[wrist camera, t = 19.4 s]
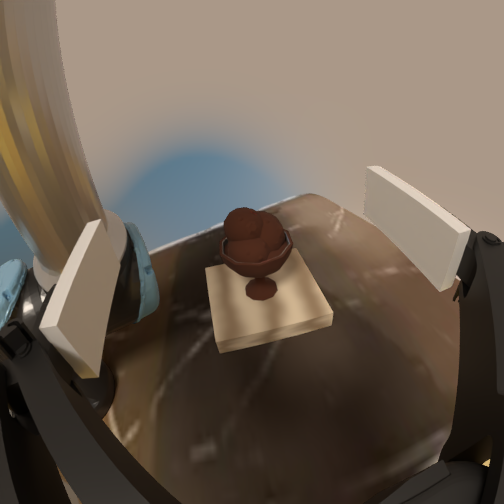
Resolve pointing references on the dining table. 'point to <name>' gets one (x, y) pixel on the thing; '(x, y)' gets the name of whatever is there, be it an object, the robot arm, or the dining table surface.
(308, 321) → the maple stand board
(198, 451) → the dining table surface
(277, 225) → the ice cream bowl
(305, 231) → the dining table surface
